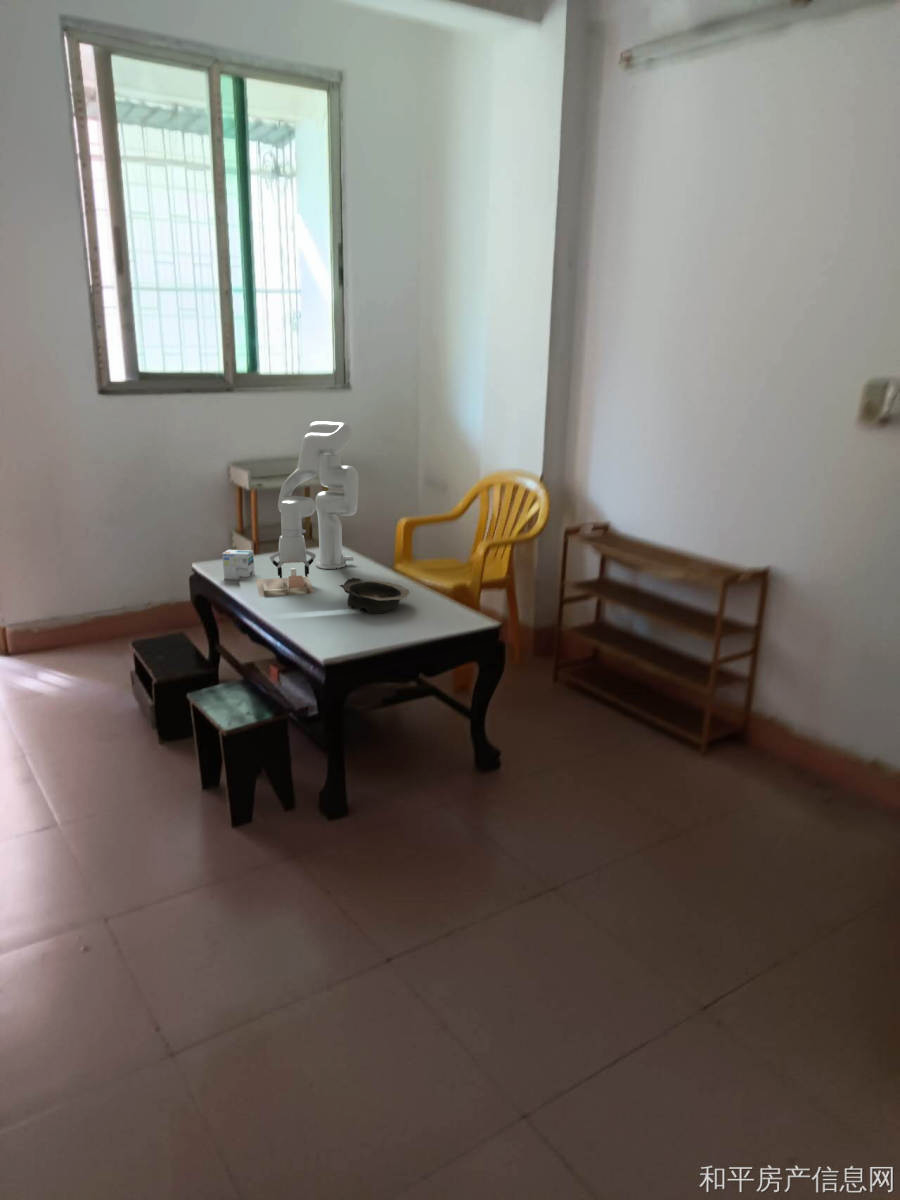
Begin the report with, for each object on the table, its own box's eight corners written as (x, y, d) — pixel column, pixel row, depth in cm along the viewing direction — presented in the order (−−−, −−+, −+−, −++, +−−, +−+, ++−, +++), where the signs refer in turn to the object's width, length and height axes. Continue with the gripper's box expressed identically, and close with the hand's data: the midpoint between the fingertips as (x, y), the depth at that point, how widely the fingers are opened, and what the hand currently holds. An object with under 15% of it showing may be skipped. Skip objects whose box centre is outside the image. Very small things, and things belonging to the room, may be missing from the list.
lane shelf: (307, 580, 327) (307, 571, 326) (314, 596, 307) (314, 587, 306) (256, 583, 322) (255, 574, 321) (259, 600, 302) (259, 591, 301)
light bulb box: (255, 575, 333) (253, 549, 329) (249, 580, 326) (248, 554, 323) (229, 574, 333) (227, 548, 330) (223, 579, 327) (221, 552, 324)
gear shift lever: (300, 582, 319) (299, 567, 317) (303, 592, 308) (303, 576, 306) (287, 583, 318) (286, 568, 316) (290, 592, 306) (289, 577, 304)
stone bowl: (325, 608, 294) (326, 582, 292) (373, 597, 314) (373, 573, 311) (377, 622, 280) (378, 595, 278) (423, 609, 299) (424, 584, 297)
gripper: (313, 529, 317) (315, 572, 322) (267, 531, 313) (269, 575, 318) (316, 534, 310) (317, 578, 315) (269, 536, 306) (271, 580, 311)
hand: (293, 576), depth 317 cm, fingers open, 9 cm apart
